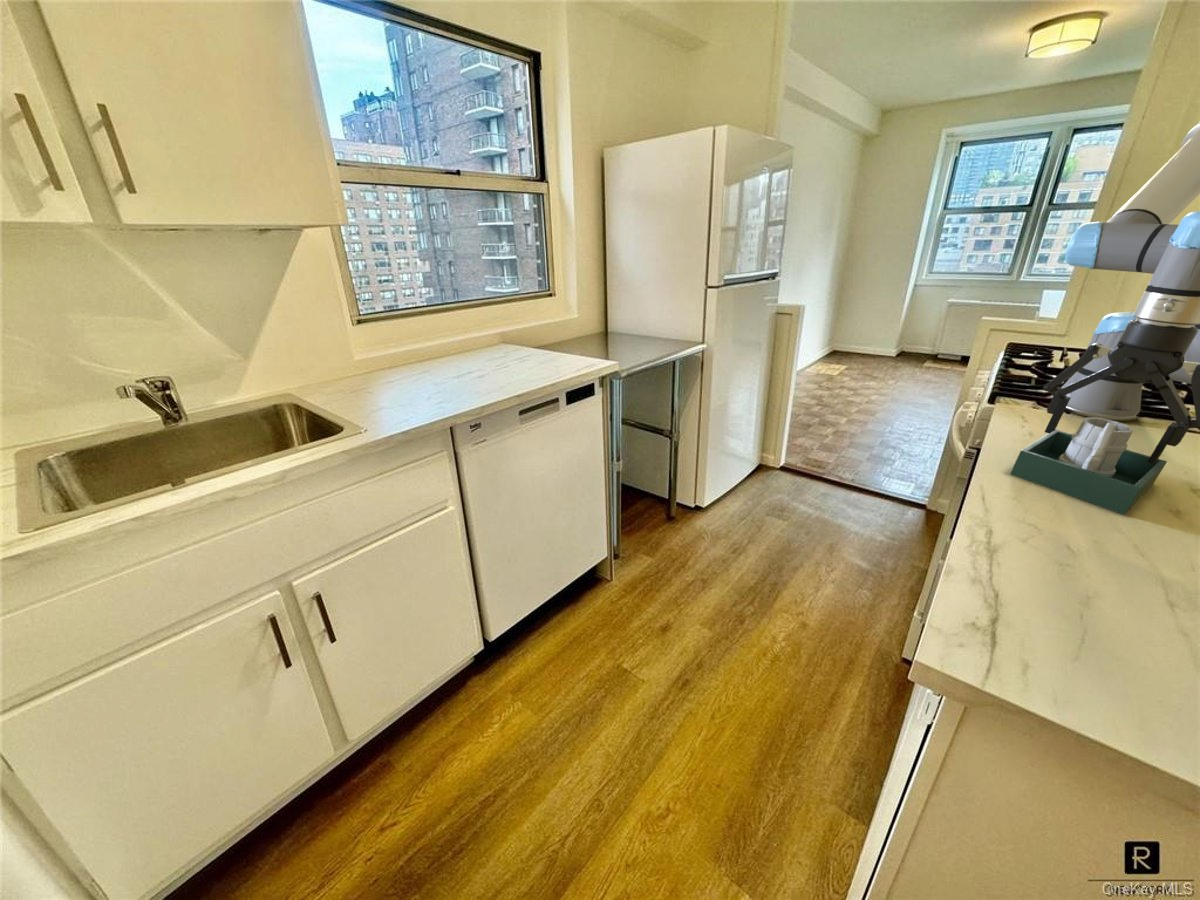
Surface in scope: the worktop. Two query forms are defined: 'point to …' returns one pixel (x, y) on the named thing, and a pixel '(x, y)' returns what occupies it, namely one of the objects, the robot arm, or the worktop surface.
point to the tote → (1087, 474)
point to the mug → (1097, 445)
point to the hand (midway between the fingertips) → (1097, 445)
